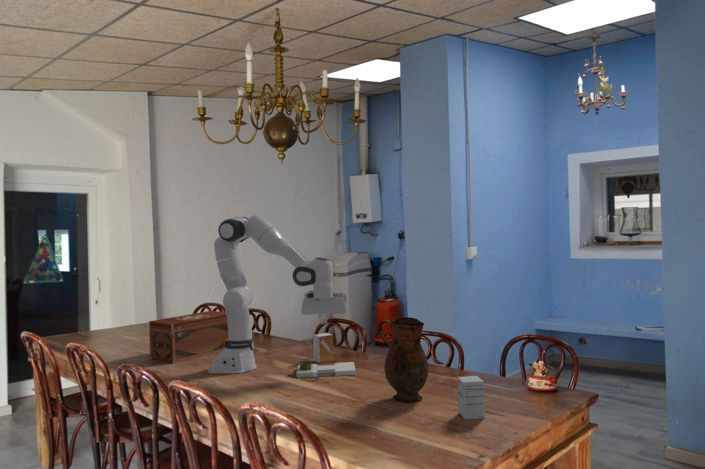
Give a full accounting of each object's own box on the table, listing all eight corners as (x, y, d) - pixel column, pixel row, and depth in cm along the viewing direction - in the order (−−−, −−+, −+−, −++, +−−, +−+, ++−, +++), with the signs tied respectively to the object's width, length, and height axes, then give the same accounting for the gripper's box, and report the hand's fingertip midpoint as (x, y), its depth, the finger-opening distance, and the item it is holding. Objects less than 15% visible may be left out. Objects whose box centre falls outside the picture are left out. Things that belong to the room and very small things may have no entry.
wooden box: (236, 349, 333) (234, 313, 333) (173, 364, 302) (171, 324, 301) (212, 345, 346) (211, 310, 346) (149, 359, 314) (148, 321, 314)
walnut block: (300, 370, 270) (299, 361, 270) (300, 367, 275) (299, 358, 275) (311, 369, 270) (311, 360, 270) (311, 366, 275) (310, 358, 275)
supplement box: (458, 413, 208) (456, 376, 208) (479, 411, 209) (477, 375, 209) (463, 419, 201) (462, 382, 201) (485, 418, 201) (484, 380, 201)
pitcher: (413, 408, 216) (410, 324, 215) (367, 398, 230) (364, 319, 229) (439, 396, 228) (436, 317, 227) (394, 388, 242) (391, 313, 242)
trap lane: (296, 377, 265) (296, 373, 265) (298, 369, 281) (297, 364, 281) (355, 374, 266) (355, 370, 266) (353, 366, 282) (353, 362, 282)
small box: (320, 363, 290) (318, 336, 290) (313, 361, 296) (312, 334, 295) (334, 360, 295) (333, 334, 295) (327, 358, 300) (326, 332, 300)
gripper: (346, 292, 276) (346, 322, 277) (301, 293, 275) (301, 323, 276) (346, 293, 270) (347, 324, 270) (300, 294, 269) (301, 325, 269)
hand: (323, 323), depth 273 cm, fingers closed
